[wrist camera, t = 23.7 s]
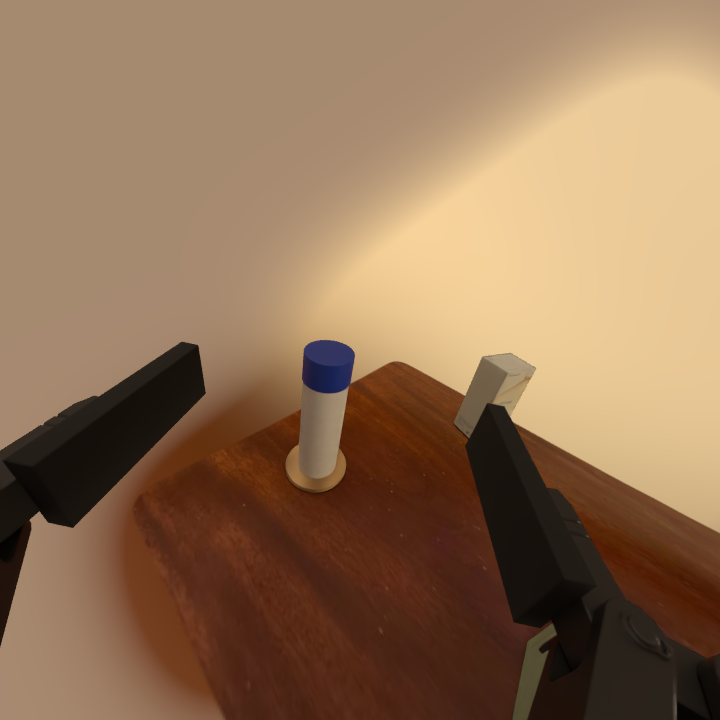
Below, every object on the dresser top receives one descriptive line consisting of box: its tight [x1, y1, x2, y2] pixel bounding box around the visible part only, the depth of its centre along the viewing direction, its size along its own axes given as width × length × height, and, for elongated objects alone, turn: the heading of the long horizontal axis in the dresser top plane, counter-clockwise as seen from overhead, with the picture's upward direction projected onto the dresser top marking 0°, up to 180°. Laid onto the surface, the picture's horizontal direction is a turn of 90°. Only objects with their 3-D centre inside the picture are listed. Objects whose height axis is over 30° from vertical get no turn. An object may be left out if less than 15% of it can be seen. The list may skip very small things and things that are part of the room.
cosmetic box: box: [454, 353, 536, 438], centre depth 40 cm, size 6×4×12 cm
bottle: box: [298, 340, 355, 479], centre depth 29 cm, size 5×5×15 cm
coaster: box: [286, 445, 346, 493], centre depth 33 cm, size 7×7×1 cm
